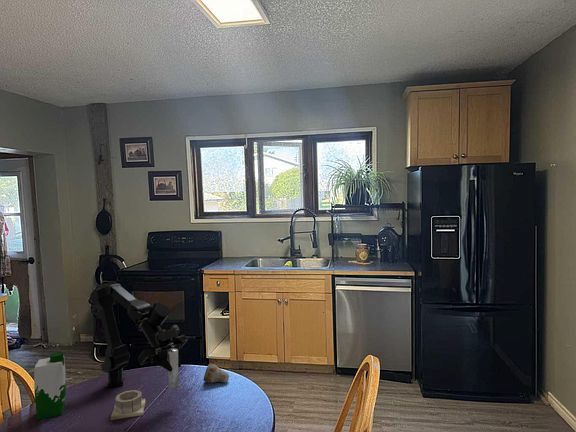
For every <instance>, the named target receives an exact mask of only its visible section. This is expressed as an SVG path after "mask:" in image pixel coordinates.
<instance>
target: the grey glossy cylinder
mask: <svg viewBox="0 0 576 432" xmlns="http://www.w3.org/2000/svg"><path fill="white" fill-rule="evenodd" d="M166 351H167V360H168V362H169V364H170V365H171V368H172V371H171V372H170V371H168V370H167V385H168V386H167V388H168V389H170V390H175V389H177V388H180V387H179V386H180V384H179V382H180V381H179V380H180V379H179V374H180V373H179V367H178V349H176V348H173V349H169V350H166Z"/></svg>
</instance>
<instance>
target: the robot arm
mask: <svg viewBox="0 0 576 432" xmlns="http://www.w3.org/2000/svg"><path fill="white" fill-rule="evenodd" d="M89 297H90V300H91V302H92V305H93V307H94V308H95V309H96V310H97V311H98V312H99V316H100V319H101V324H102V328H103V333H104V337H105V341H106V344H107V345H106V346H107V347H106V350H105V353H104V358H105V360H104V361H103V362H102V364H101V365H100V368H101V371H102V372H103V373H106V374H107V381H106V384H105V389H108V388H116V387H122V386H124V383H125V381H126V378H125V377H124V368H125V367H128V365H129V362H130V357H131V355H130V351H129V346H128V345H127V344H126V343H125V344H124V343H123V342H122V340H121V338H120V333H119V329H118V326H117V321H116V316H115V313H114V309H113V305H114V304H115V303H114V302H115V301H116V302H118V303H119V304H120V305H121V306H122V307H124V308H125V309H126V311H127V315H128V317H129V318H130V319H131V320H132V321H133V322H134V323H137V322H140V323H139V324H138V328H137V331H138V332H143V334H144V336H145V337H146V339H147V341H146V343H147V345H150V347H148V348H145V349H143V350H142V351H141V353H140V355H138V356H137V362H138V364H139V365H140V366H142V365H145V364H147V363H148V362H149V358H150V359H151V361H150V363H151V364H155V365H157V366H159V367H161V368H163V369H165V370H166V371H167V372H168V371H170V372H171V371H172V368H171V365H170V364H169V362H168V358H166V354H165V352H166V351H168V350H169V349H173V348H176V349H178V368H181V367H182V363H181V358H180V353H179V351H180V349H181V348H182V347H183V346H184V345H185V344H186V343H187V342H188V340H189V339H188V338H187V336H186V335H185V334H181V335H178V334H180V333H181V331H180V327H179V326H178V325H177V324H173V326H170V329H167V330H166V329H165V328H163V329H162V328H161V326H162V325H163V323H164V322H165V321H166V320H167V318H168V317H169V316H170V314H171V310H170V308H169V306H168V305H165V304H164V303H161V301H157V302H155V303H153V305H151V304H150V303H148V302H146V301H145V300H141V299H140V300H139V299H137V298H136V297H134V295H132V294H131V293H130V292H128V291H127V290H126V289H125V288H124V287H123V286H122V285H121V284H120V283H116V282H115V283H113V284H108V285H106V286H105V287H100V288H96V289H93V290H92V291H91V293H90V296H89ZM173 338H174V339H173Z"/></svg>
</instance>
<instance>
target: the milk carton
mask: <svg viewBox="0 0 576 432" xmlns="http://www.w3.org/2000/svg"><path fill="white" fill-rule="evenodd" d="M33 372H34V375H33V382H34V385H33V386H34V387H33V388H34V406H35V407H34V408H35V413H36V419H38V420H42V419H47V418H52V417H53V418H54V417H57V416H61V415H63V411H64V409H65V405H66V404H65V403H66V397H67V385H66V384H67V383H66V382H67V381H66V380H67V379H66V360H65V355H64V352H63V351H59V352H52V353H51V354H50V355H49V357H47V358H40V359H38V361H37V362H36V364H35V366H34V371H33Z"/></svg>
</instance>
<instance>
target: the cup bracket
mask: <svg viewBox="0 0 576 432" xmlns="http://www.w3.org/2000/svg"><path fill="white" fill-rule="evenodd" d="M114 403H115V404H114V407H113V410H112V412H111V416H110V421H113V420H114V421H115V420H119V419H120V420H122V419H127V418H133V417H139V416H144V413H145V406H146V398H143V393H142V391H140V390H138V389H137V390H136V389H133V390H126V391H123V392H121V393H119V394H117V395H116V397H115V400H114Z"/></svg>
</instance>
